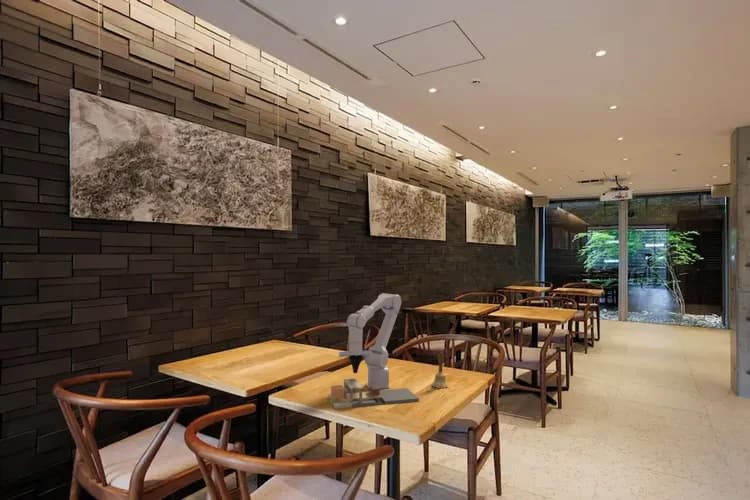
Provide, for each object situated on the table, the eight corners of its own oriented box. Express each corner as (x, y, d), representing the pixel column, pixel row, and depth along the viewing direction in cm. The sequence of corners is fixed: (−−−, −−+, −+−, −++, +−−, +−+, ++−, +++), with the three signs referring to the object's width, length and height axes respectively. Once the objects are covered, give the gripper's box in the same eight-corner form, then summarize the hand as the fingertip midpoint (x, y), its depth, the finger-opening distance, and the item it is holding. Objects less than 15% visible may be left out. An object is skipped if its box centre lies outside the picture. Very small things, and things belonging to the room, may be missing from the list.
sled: (375, 392, 184) (375, 384, 184) (380, 398, 177) (380, 389, 177) (330, 396, 178) (330, 387, 178) (333, 402, 171) (333, 393, 171)
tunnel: (354, 392, 183) (355, 378, 183) (362, 402, 172) (362, 387, 172) (343, 393, 182) (343, 379, 182) (350, 403, 170) (350, 388, 170)
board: (406, 390, 192) (406, 388, 192) (418, 401, 178) (418, 398, 178) (328, 397, 181) (328, 394, 181) (334, 408, 168) (334, 405, 168)
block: (341, 394, 178) (341, 385, 178) (344, 398, 174) (344, 388, 174) (331, 395, 177) (331, 385, 177) (333, 399, 172) (333, 389, 172)
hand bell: (450, 384, 202) (450, 351, 202) (447, 389, 194) (447, 354, 195) (432, 382, 205) (433, 349, 205) (429, 387, 197) (430, 353, 197)
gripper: (341, 344, 180) (341, 376, 180) (374, 342, 184) (373, 374, 184) (338, 340, 186) (337, 371, 186) (369, 339, 191) (369, 369, 191)
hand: (355, 372), depth 186 cm, fingers closed
